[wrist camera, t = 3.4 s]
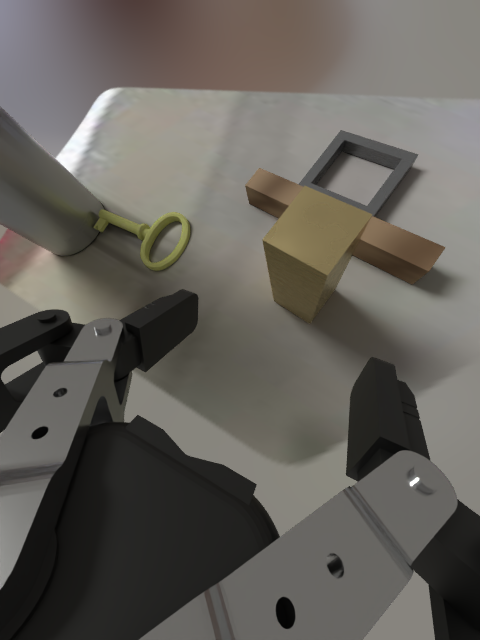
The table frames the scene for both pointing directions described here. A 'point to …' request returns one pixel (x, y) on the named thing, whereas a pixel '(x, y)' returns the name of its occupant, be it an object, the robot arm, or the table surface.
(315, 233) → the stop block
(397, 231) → the brown square bar
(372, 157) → the keeper
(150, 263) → the key
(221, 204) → the table surface
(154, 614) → the robot arm
